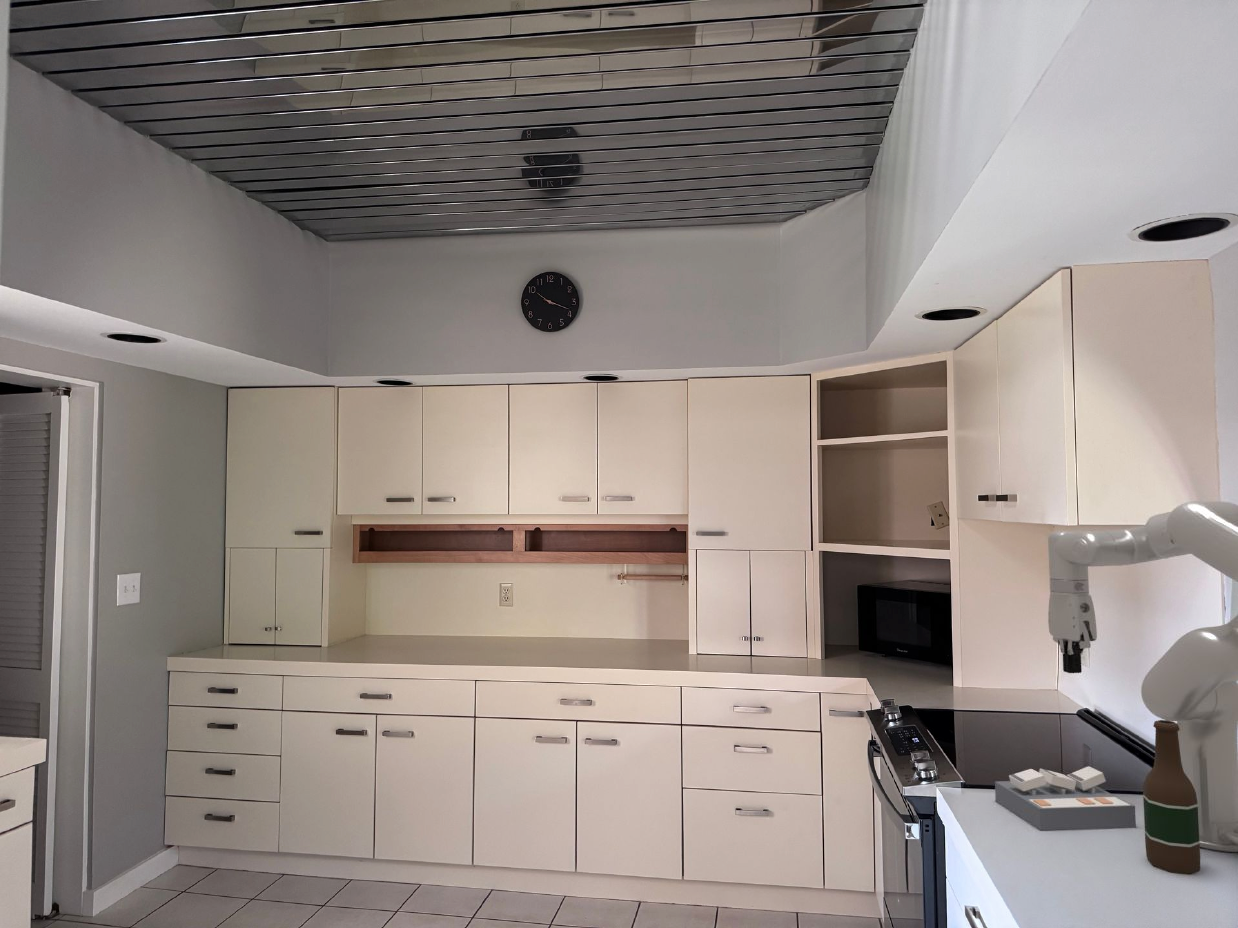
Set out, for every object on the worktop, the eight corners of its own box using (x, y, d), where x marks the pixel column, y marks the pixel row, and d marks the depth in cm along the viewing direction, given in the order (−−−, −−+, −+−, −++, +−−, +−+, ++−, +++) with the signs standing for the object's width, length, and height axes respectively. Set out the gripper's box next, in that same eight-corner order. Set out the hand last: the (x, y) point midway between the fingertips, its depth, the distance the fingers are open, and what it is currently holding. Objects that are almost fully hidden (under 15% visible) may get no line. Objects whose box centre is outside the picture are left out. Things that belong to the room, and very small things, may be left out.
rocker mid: (1074, 789, 163) (1076, 780, 164) (1050, 783, 163) (1052, 774, 163) (1060, 782, 168) (1062, 773, 168) (1038, 776, 167) (1040, 767, 168)
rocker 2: (1105, 781, 164) (1102, 772, 164) (1083, 790, 164) (1080, 781, 164) (1091, 774, 168) (1088, 765, 168) (1070, 783, 168) (1066, 774, 168)
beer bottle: (1149, 851, 145) (1142, 713, 147) (1202, 863, 140) (1195, 720, 142) (1142, 866, 139) (1136, 722, 141) (1198, 879, 134) (1191, 729, 136)
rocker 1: (1046, 784, 163) (1043, 774, 163) (1023, 791, 163) (1020, 781, 163) (1033, 777, 167) (1031, 768, 168) (1011, 784, 167) (1008, 775, 167)
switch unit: (1135, 827, 156) (1134, 800, 157) (1040, 830, 155) (1039, 803, 155) (1082, 798, 172) (1081, 774, 173) (995, 801, 171) (994, 776, 171)
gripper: (1109, 590, 172) (1113, 678, 171) (1062, 584, 187) (1065, 665, 186) (1076, 590, 172) (1079, 679, 170) (1031, 584, 186) (1034, 666, 185)
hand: (1072, 672), depth 178 cm, fingers closed
